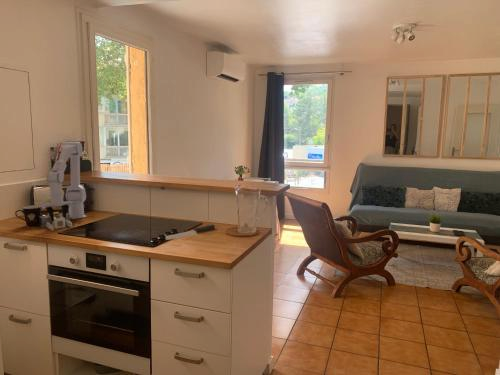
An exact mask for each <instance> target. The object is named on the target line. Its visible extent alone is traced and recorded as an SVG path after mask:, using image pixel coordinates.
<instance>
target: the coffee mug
mask: <svg viewBox="0 0 500 375" xmlns="http://www.w3.org/2000/svg"><path fill="white" fill-rule="evenodd" d="M18 212H22V213H23V216H24V218H22V217H20V216H19V215H17V214H18ZM14 215H15V217H17V218H18V219H20V220H22V221H24V222H25V224H26V227H27V226H29V228H33V226H34V227H40V226H39V216H42V206H41V205H28V206H27V205H26V206H23V207H22V209H19V210H16V211H15V213H14Z"/></svg>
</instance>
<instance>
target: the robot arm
mask: <svg viewBox="0 0 500 375" xmlns="http://www.w3.org/2000/svg"><path fill="white" fill-rule="evenodd" d="M59 148H60V155H59V157H58V160H56V161H55V162H54V164H53V167H52V169H51V171H49V172H47V174H46V181H47V184H48V187H49V194H50V195H49V196H50V202H49V203H42V204H41V205H40V206H41V210H42V209H43V210H44V209H45V210H46V211H47V214H48V213H49V215H50V218H51V221H54V217H53V212H54V208H57V207H61V210H62V212H61V213H62V214H63V217H64V218H65V219H66V214H67V213H68V214H70V219H72V220H76V219H81V218H87V215H85V211H84V209H85V208H84V202H85V201H86V200H87V192H86V188H85V187H83V186H82V185H81V157H82V156H83V145H82V144H81V142H80V141H64V140H63V141H62V142H61V143H60V147H59ZM68 160H70V185H69V186H68V187H67V188H66V193H65V199H66V201H64V196H63V184H62V183H63V181H64V180H65V171H66V168H67V162H68Z"/></svg>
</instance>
